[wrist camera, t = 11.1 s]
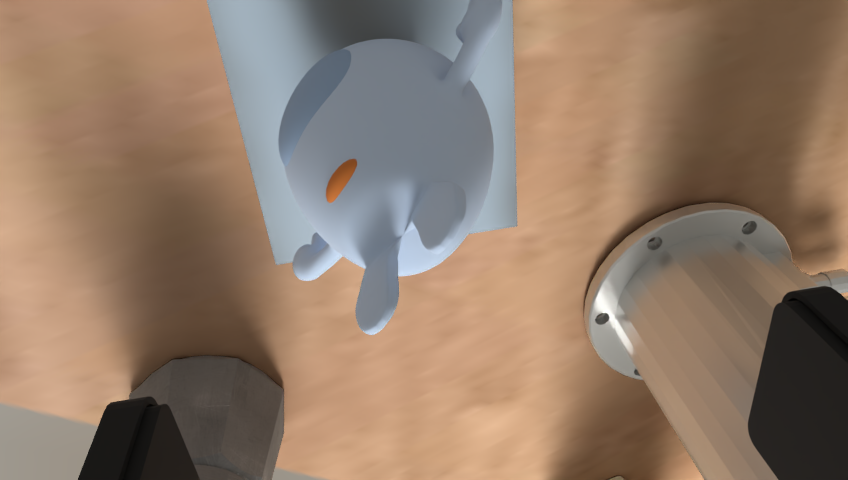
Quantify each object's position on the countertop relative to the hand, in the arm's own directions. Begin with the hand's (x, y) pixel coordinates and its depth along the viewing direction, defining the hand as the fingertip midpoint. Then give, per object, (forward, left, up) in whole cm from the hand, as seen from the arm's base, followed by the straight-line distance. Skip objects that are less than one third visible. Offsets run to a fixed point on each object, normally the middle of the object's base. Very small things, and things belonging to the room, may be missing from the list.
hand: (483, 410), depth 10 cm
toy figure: (0, 0, -16) cm, 16 cm away
